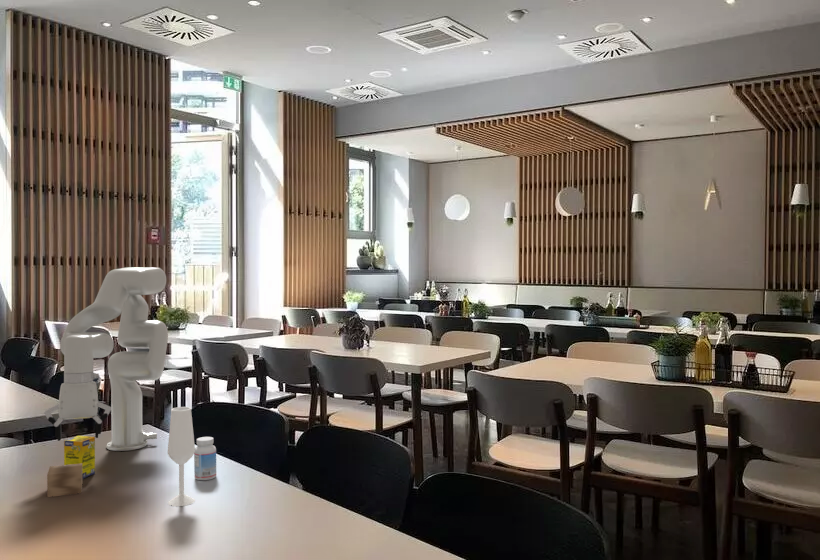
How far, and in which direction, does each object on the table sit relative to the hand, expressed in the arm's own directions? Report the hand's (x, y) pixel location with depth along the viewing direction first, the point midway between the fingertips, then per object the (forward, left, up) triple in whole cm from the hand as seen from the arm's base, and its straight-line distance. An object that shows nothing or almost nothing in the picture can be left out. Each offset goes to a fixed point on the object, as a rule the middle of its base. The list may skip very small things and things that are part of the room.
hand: (78, 438), depth 197 cm
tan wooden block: (+3, +11, -11) cm, 16 cm away
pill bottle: (-33, +14, -11) cm, 38 cm away
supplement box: (0, -1, -11) cm, 11 cm away
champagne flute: (-25, +32, -11) cm, 43 cm away
